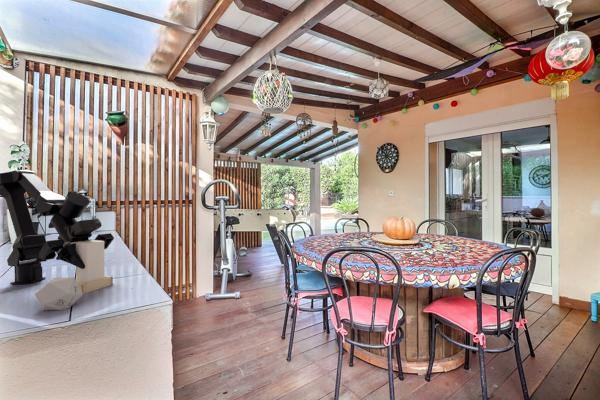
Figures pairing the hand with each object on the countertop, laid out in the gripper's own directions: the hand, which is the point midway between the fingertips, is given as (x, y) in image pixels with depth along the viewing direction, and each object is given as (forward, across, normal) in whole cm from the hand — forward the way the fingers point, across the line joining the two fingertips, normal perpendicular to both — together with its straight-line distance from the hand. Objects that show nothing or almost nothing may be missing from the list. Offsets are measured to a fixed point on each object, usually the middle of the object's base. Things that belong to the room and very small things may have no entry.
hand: (93, 265), depth 87 cm
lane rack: (+1, 0, +10) cm, 10 cm away
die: (+10, -13, +1) cm, 17 cm away
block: (+3, 0, +5) cm, 6 cm away
